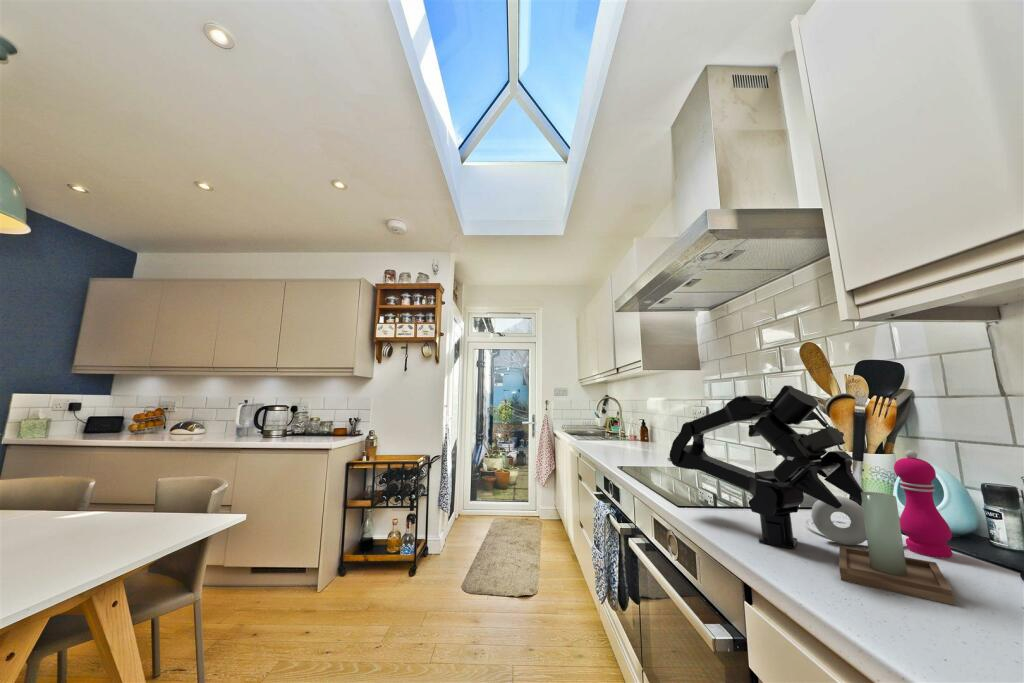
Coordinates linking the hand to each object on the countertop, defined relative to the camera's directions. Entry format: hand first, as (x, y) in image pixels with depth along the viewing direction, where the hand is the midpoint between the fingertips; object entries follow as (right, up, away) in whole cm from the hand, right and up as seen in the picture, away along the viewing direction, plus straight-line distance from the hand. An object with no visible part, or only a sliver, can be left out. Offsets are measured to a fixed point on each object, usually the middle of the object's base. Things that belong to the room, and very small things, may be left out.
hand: (853, 504), depth 71 cm
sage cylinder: (+2, -9, -5) cm, 11 cm away
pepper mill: (+20, -12, +5) cm, 24 cm away
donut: (+7, -13, +10) cm, 18 cm away
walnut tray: (+2, -11, -5) cm, 12 cm away
